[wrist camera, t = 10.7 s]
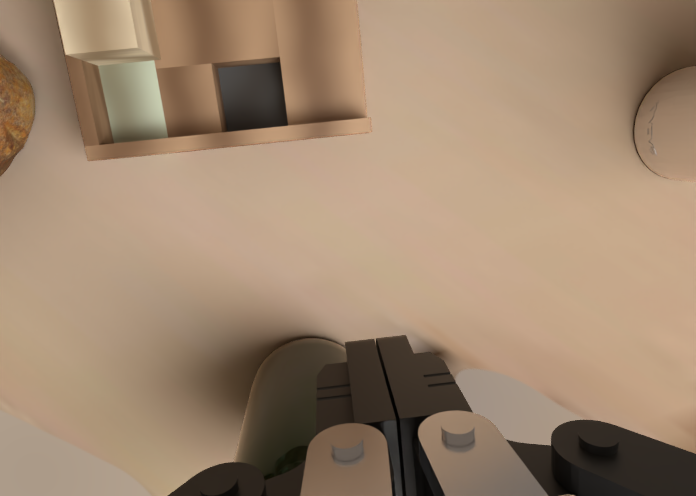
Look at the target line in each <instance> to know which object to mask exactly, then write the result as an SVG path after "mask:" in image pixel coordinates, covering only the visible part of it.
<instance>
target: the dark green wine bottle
mask: <svg viewBox="0 0 696 496" xmlns="http://www.w3.org/2000/svg"><path fill="white" fill-rule="evenodd" d="M342 362H347V357H346V348H344V347H343V346H341V345H339V344H337V343H334V342H332V341H329V340H324V339H318V338H305V339H300V340H295V341H292V342H289V343H287V344H284V345H282V346H281V347H279V348H278V349H276V350H274V351H273V352H272V353H271V354H270V355H269V356H268V357H267V358H266V359H265V360H264V362H263V363H262V364H261V366H260V367H259V369H258V372H257V374H256V377H255V379H254V382H253V384H252V388H251V392H250V396H249V400H248V403H247V407H246V411H245V416H244V420H243V424H242V428H241V432H240V436H239V440H238V445H237V449H236V453H235V457H234V462H242V463H248V464H251V465H253V466H255V467H257V468H258V469H259V470H260V471H261V472H262V474H263V476H264V480H267V479H270V478H273V477H276V476H278V475H281V474H284V473H286V472H288V471H290V470H292V469H294V468H296V467H297V466H299V465H300V464H302V463H303V462H304V461H305V460H306V456H307V450H308V446H309V444H310V442H311V441H312V440H313V438H314V437H315V436H316V401H317V399H316V394H317V375H318V374H319V372H320V371H321V370H322V368H323V367H324V366H325V365H326V364H334V363H342Z"/></svg>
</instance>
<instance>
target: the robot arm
mask: <svg viewBox="0 0 696 496" xmlns="http://www.w3.org/2000/svg"><path fill="white" fill-rule="evenodd" d="M634 134H635V144H636V147H637V150H638V153H639V155H640V157H641V159H642V161H643V162H644V163H645V164H646V165H647V167H648V168H649V169H650V170H652V171H653V172H655V173H656V174H658V175H659V176H662V177H665V178H668V179H674V180H683V181H692V182H696V66H691V67H686V68H683V69H680V70H677V71H674V72H672V73H670V74H669V75H667V76H665V77H663V78H662V79H661V80H660V81H659V82H657V83H656V84H655V85H654V86H653V87H652V88H651V90H650V91H649V92H648V93H647V95H646V96H645V98H644V100H643V101H642V103H641V105H640V107H639V110H638V113H637V116H636V121H635V128H634ZM345 347H346V357H347V362H342V363H334V364H326V365H325V366H324V367H323V368H322V370H321V371H320V372H319V374H318V375H317V394H316V399H317V401H316V436H315V437H314V438H313V440H312V441H311V442H310V444H309V446H308V450H307V456H306V460H305V461H304V462H303V463H302V464H300V465H299V466H297V467H296V468H294V469H292V470H290V471H288V472H286V473H284V474H281V475H278V476H276V477H273V478H270V479H267V480H264V476H263V474H262V472H261V471H260V470H259V469H258V468H257V467H255V466H253V465H251V464H248V463H242V462H230V463H223V464H219V465H216V466H213V467H210V468H208V469H205V470H204V471H202V472H200V473H198V474H197V475H195V476H194V477H192V478H191V479H190V480H188V481H187V482H186V483H184V484H183V485H182V486H180V487H179V488H178V489H176V490H175V491H174V492H172V493H171V494H170V495H168V496H696V454H694V453H692V452H689V451H686V450H683V449H680V448H678V447H675V446H672V445H669V444H666V443H663V442H661V441H658V440H655V439H652V438H649V437H647V436H644V435H641V434H638V433H635V432H632V431H630V430H627V429H624V428H621V427H618V426H616V425H612V424H609V423H605V422H601V421H594V420H575V421H570V422H566V423H563V424H561V425H559V426H558V427H557V428H556V429H555V430H554V431H553V433H552V436H551V446H549V445H537V444H526V443H518V442H513V441H509V440H506V439H505V438H504V437H503V435H502V434H501V433H500V431H499V430H498V429H497V427H496V426H495V425H494V424H493V423H492V422H491V421H490V420H488V419H487V418H485V417H483V416H481V415H478V414H475V413H473V412H472V410H471V408H470V406H469V405H468V403H467V401H466V399H465V398H464V396H463V394H462V392H461V390H460V389H459V387H458V385H457V384H456V382H455V380H454V378H453V376H452V374H450V371H449V369H448V367H447V366H446V364H445V362H444V361H443V360H442V359H440V358H439V357H437V356H435V355H434V354H432V353H431V352H426V353H417V354H414V353H413V351H412V348H411V346H410V344H409V342H408V339H407V337H406V335H401V336H393V337H384V338H376V344H375V341H374V339H368V340H359V341H351V342H345Z"/></svg>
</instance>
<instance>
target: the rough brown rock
mask: <svg viewBox="0 0 696 496" xmlns="http://www.w3.org/2000/svg"><path fill="white" fill-rule="evenodd" d="M34 115H35V99H34V94H33V89H32V86H31V84H30V83H29V81H28V79H27V78H26V77H25V76H24V75H23V73H22V72H21V71H20V70H19V69H18V68H17V67H16V66H15V65H14V64H13V63H11V62H9V61H7V60H6V59H5V58H4V57H3V56H2V55H1V54H0V176H1V175H2V174H3V173H4V172H5V171H6V170H7V168H8V167H9V166H10V164H11V162H12V161H13V159H14V157H15V156H16V155H17V153H18V152H19V151H20V150H21V149H23V147H24V145H25V142H26V140H27V138H28V135H29V133H30V130H31V127H32V124H33V120H34Z"/></svg>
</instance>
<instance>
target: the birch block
mask: <svg viewBox="0 0 696 496" xmlns="http://www.w3.org/2000/svg"><path fill="white" fill-rule="evenodd" d="M54 4H55V9H56V14H57V18H58V23H59V27H60V32H61V36H62V41H63V45H64V50H65V55H68V56H71V57H74V58H77V59H80V60H83V61H86V62H89V63H92V64H95V65H98V66H100V65H111V64H121V63H132V62H142V61H152V60H161V56H160V50H159V44H158V39H157V33H156V28H155V22H154V16H153V11H152V5H151V0H54Z"/></svg>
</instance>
